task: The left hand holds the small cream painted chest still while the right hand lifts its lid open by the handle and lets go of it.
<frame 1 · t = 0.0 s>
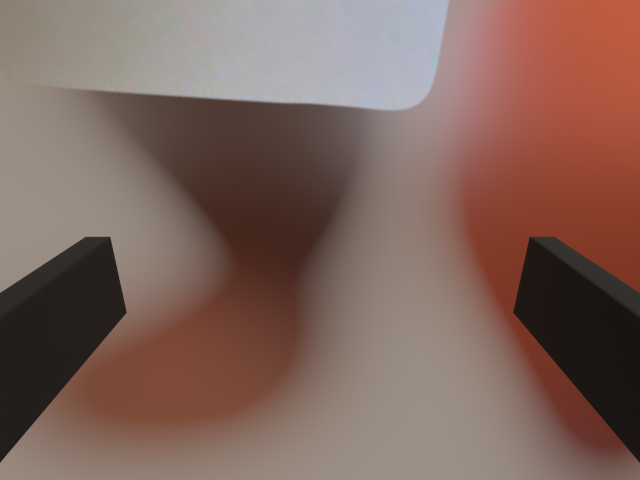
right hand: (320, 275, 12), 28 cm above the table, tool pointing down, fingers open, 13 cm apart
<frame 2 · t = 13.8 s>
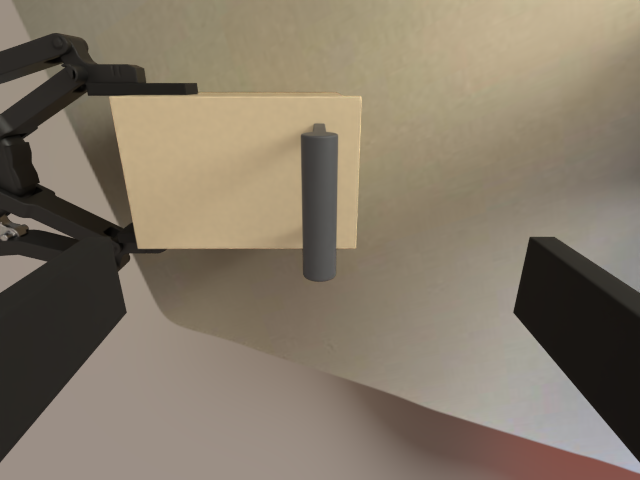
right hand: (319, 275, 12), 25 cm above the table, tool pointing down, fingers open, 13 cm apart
lid: (231, 191, 22), point 14 cm above the table, hinge at 0.0°
chest: (258, 150, 35), on the table, touching left hand
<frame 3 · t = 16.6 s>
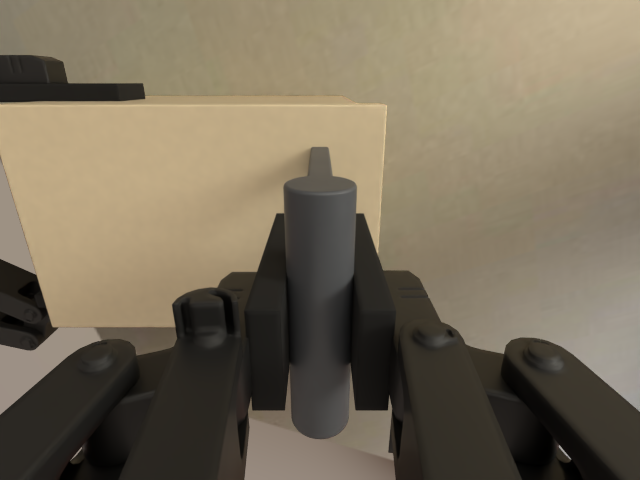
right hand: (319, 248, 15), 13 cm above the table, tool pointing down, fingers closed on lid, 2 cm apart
lid: (175, 260, 13), point 14 cm above the table, hinge at 0.0°, touching right hand
chest: (239, 172, 27), on the table, touching left hand
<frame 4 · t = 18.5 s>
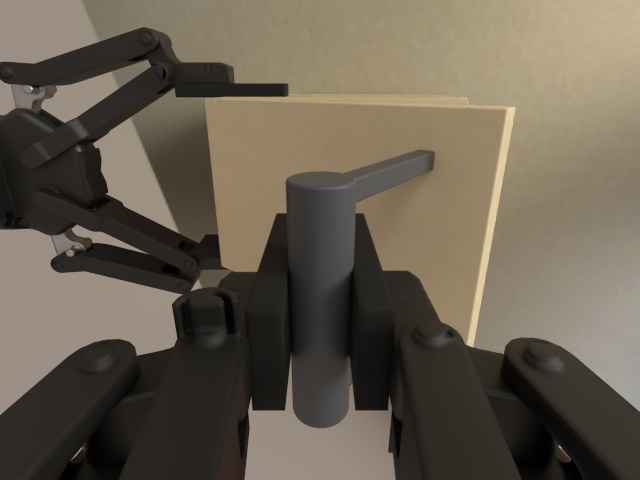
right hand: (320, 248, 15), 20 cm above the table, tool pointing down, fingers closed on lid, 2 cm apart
left hand: (289, 173, 26), fingers closed on chest, 10 cm apart
lid: (271, 232, 16), point 18 cm above the table, hinge at 36.2°, touching right hand
chest: (335, 156, 33), on the table, touching left hand
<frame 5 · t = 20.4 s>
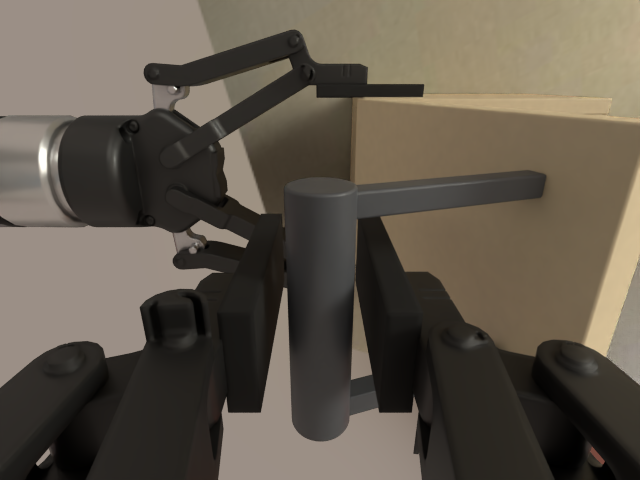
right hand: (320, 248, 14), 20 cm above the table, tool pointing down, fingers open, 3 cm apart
left hand: (411, 172, 27), fingers closed on chest, 10 cm apart
lid: (359, 235, 16), point 19 cm above the table, hinge at 70.3°
chest: (433, 155, 33), on the table, touching left hand
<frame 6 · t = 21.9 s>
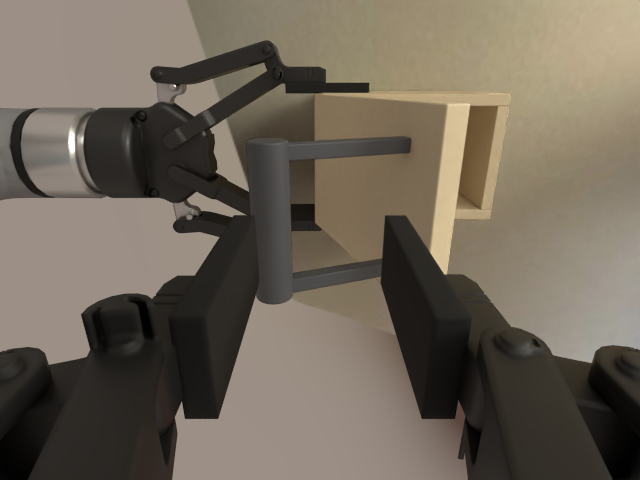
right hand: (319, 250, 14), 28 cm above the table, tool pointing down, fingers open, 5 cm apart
left hand: (364, 153, 33), fingers closed on chest, 10 cm apart
lid: (308, 189, 22), point 19 cm above the table, hinge at 69.2°
chest: (389, 142, 40), on the table, touching left hand
when the left hand's fingers open (7 cm above the table, at t = 24.4 s): chest stays where it is, on the table.
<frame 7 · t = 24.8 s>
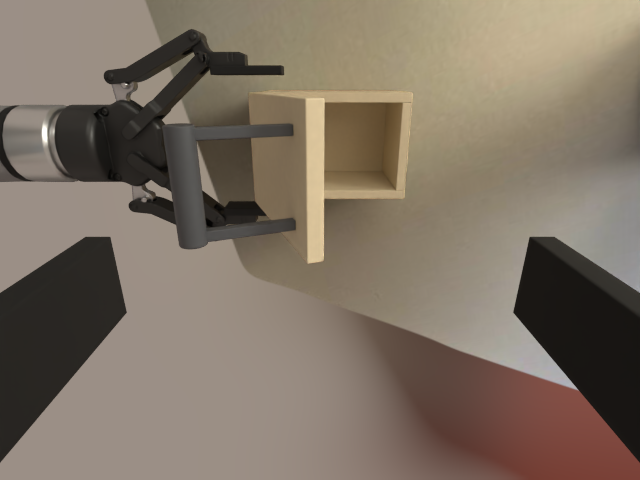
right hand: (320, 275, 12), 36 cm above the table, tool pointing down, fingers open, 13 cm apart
left hand: (285, 143, 39), fingers open, 13 cm apart
lid: (231, 167, 28), point 19 cm above the table, hinge at 68.7°
chest: (330, 135, 46), on the table
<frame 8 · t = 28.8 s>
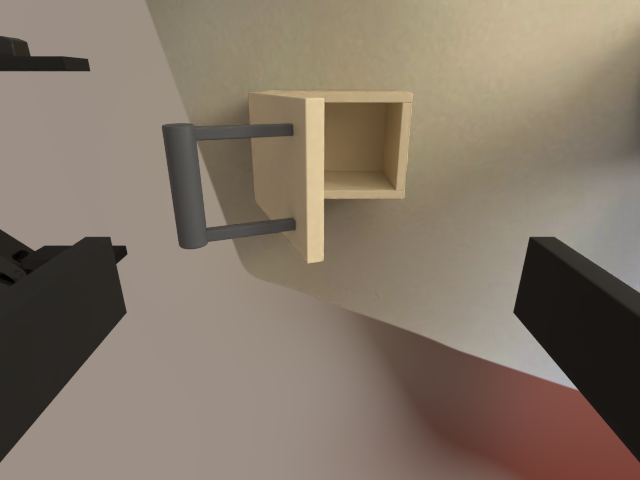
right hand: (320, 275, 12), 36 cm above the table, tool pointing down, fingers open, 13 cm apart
lid: (231, 167, 28), point 19 cm above the table, hinge at 68.7°
chest: (330, 135, 46), on the table
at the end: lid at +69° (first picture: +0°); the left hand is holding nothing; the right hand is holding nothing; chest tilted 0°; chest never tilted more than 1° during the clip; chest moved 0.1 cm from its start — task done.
